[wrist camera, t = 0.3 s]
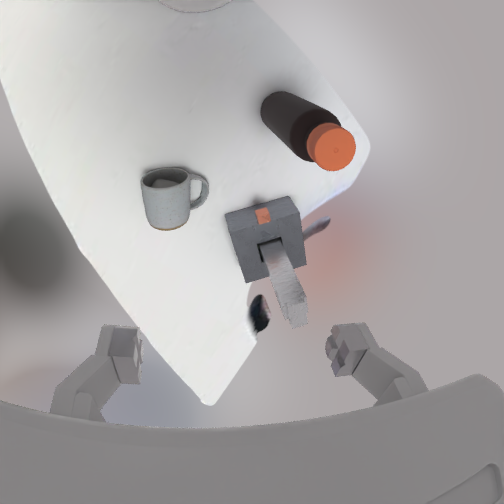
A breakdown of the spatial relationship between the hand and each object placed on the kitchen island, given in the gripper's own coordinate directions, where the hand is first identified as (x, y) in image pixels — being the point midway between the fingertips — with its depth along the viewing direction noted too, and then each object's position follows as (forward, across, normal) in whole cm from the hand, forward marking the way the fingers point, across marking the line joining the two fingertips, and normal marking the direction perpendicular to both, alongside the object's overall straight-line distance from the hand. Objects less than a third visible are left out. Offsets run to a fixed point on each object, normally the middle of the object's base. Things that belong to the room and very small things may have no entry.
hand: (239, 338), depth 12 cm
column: (+42, -11, +18) cm, 47 cm away
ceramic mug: (+41, +5, +9) cm, 42 cm away
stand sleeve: (+42, -11, +18) cm, 47 cm away
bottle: (+40, -10, -5) cm, 42 cm away
